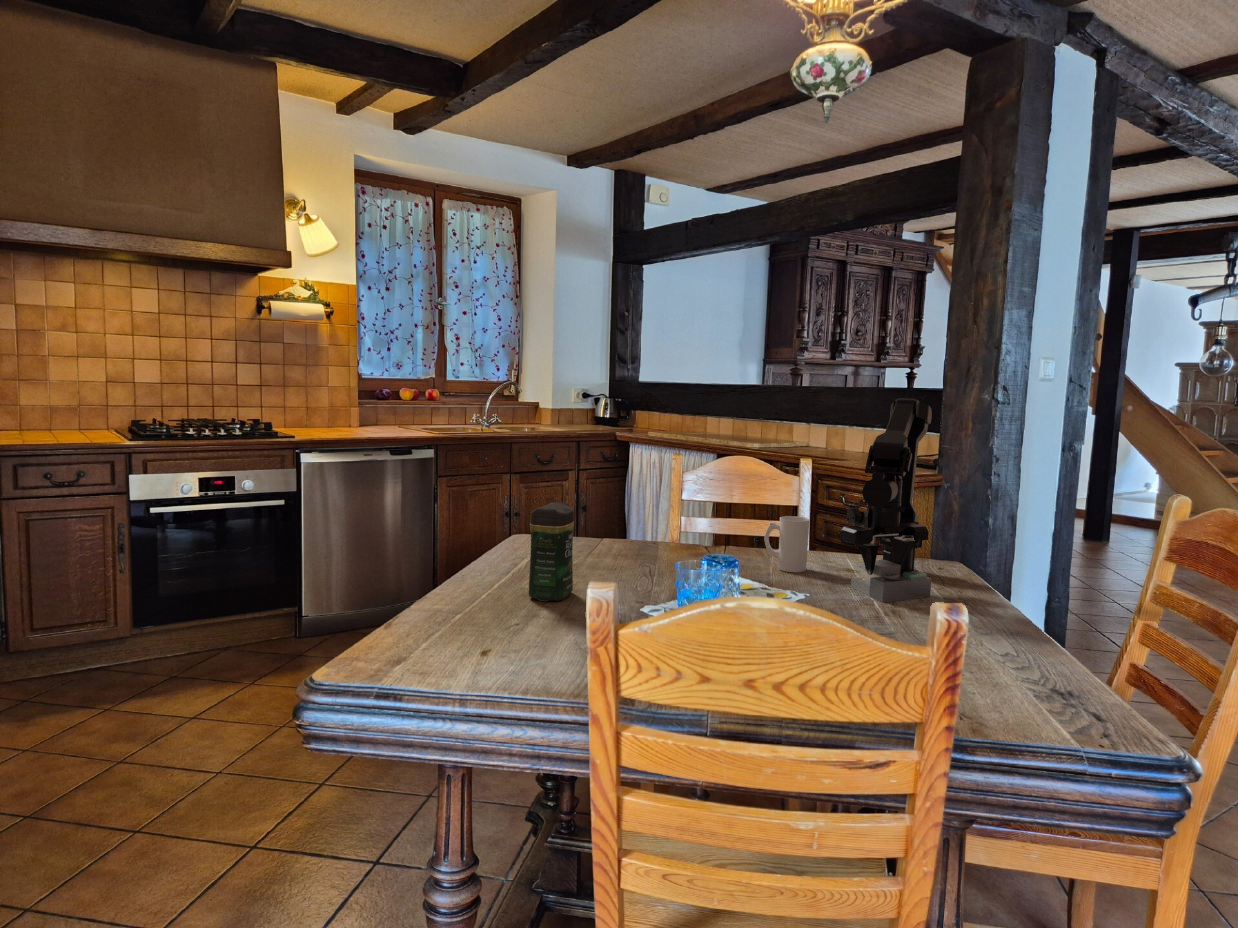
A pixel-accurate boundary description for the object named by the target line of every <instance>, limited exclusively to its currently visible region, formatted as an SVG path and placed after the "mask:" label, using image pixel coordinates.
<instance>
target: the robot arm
mask: <svg viewBox="0 0 1238 928" xmlns="http://www.w3.org/2000/svg"><path fill="white" fill-rule="evenodd" d="M932 411H933V410H932V408H931V406H930V405H928V404H926V403H923V402H920V401H919V399H915V398H899V397H898V398H897V399H894V400H893V403H891V405H890V413H889V414H890V415H889V421H888V424H887V426H886V428H885V431H884V432H883V433H880V434H878V435H877V436H876V437H875V439H874V441H873V443H872V444H871V445H870V446H869V449H868V454H867V459H866V463H865V467H864V474H870V475H871V479H869V480H867V481H866V483H865V484H864V485H863V488H862V491H861V493H862V497H863V499H864V501H865V502H866V503H867V505H866V510H862V511H860V510H859V508H857V507H856V508H855V507H854V508H853V507H852V508H848V509H847V510H846V522H847V524H848V525H851V526H843V527H842V528H841V529H840V531H839V540H840V541H843V542H846V543H850V544H853V545H855V546H856V548H858V550H859V552H860V554H861V558H862V561H863V563H864V569H865V568H866V571H867V574H869V575H872V573H873V570H874V567H875V562H876V560H877V557H878V551H879V546H880V545H884V549H883V550H882V551H883V552H882V560H887V561H890V562H893V563H896V564H898V565H901V569H900V575H903V572H911V571H920V570H919V569H917V568H915V558H916V549H919V548H920V549H921V548H923V543H924V541H928V540H929V529H928V528H927V526H925V525H922V524H921V523H920V521H919V515H918V512H917V510H916V509H915V507H914V505H913V501H914V500H913V499H914V492H915V491H914V490H915V480H916V472H917V462H918V461H917V460H918V453H919V452H918V451H919V443H920V442H921V440H922V439H923V438H924V437H925V435H926V434H927V433H928V428H929V425H930V424H932V423H931V422H932V414H933V413H932ZM875 539H879V544H876V543H875Z"/></svg>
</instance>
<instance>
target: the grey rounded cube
mask: <svg viewBox="0 0 1238 928" xmlns="http://www.w3.org/2000/svg"><path fill="white" fill-rule="evenodd" d="M900 569H901V565H898V564H896V563H893V562H890V561H887V560H883V559H879V560H878V559H876V562H875V567H874V570H873V573H872V575H869V574H867V571H866V568H865V567H864V579H863V580H864V581H867V582H869V583H870V578H872V577H883V576H884V574H885V573H892V574H897V575H901V574H900Z"/></svg>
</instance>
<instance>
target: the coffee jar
mask: <svg viewBox="0 0 1238 928" xmlns="http://www.w3.org/2000/svg"><path fill="white" fill-rule="evenodd" d="M529 519H530V520H529V529H530V531H529V532H530V556H529V559H530V560H529V578H528V596H529V597H530V598H533V599H535V600H538V601H539V602H540V601H541V602H549V601H558V602H559V601H562V600H563V599H565V598H567V597H569V596H570V594H572V592H573V590H574V588H573V587H574V584H573V583H574V582H573V581H574V580H573V579H574V576H573V574H574V573H573V548H574V546H573V545H574V543H573V538H574V528H575V527H574V525H575V510H574V509H573V507H572V506H570V504H568V503H561V502H550V503H548V504H545V505H543V506H539V507H536V508H535V509H533V510H531V511H530V518H529Z"/></svg>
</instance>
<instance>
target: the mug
mask: <svg viewBox="0 0 1238 928" xmlns="http://www.w3.org/2000/svg"><path fill="white" fill-rule="evenodd" d="M810 520H811V519H810V518H808V517H805V516H804V517H803V516H793V515H791V516H790V515H786V516H780V517H779V523H776V522H775V521H774V522H772V521H769V524H768V526H767V528H766V530H765V534H764V537H763V538H764V544H765V545H764V546H765V547H766V551H767V553H768V555H769V557H775V558H778V570H780V571H783V572H785V573H786V572H787V573H795V574H797V573H804V572H806V571H807V563H808V546H809V535H810V534H809V533H810ZM774 530H778V531H779V537H778V538H779V539H778V542H779V543H778V544H779V545H778V546H779V547H778V549H777V550H775V549H774V548H772V546H771V543H770V534H771V533H772V531H774Z"/></svg>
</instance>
